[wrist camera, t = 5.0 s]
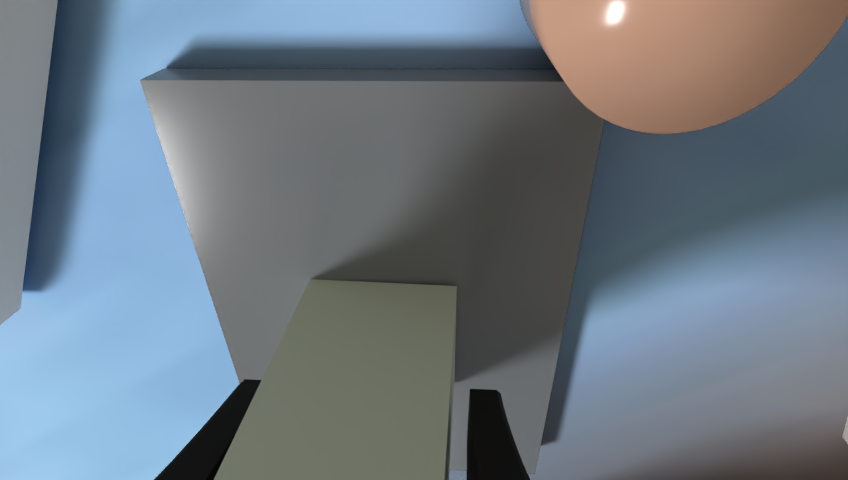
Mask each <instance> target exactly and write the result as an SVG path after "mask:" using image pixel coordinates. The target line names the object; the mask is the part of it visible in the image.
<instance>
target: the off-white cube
mask: <svg viewBox="0 0 848 480" xmlns="http://www.w3.org/2000/svg"><path fill="white" fill-rule="evenodd" d="M842 437H843V438H844V440H845V441H846V442H847V444H848V418H847V422H846V425H845V429H844V433H843V436H842Z"/></svg>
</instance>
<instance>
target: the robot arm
mask: <svg viewBox="0 0 848 480" xmlns="http://www.w3.org/2000/svg"><path fill="white" fill-rule="evenodd" d="M260 382H261V380H251V379H244V380H243V381H242V382H241V383H240V384H239V385H238V387H237V388H236V389H235V390H234V391H233V392H232V394H231V395H230V396H229V397H228V398H227V399H226V401H225V402H224V403H223V404H222V405H221V407H220V408H219V409H218V410H217V411H216V412H215V414H214V415H213V416H212V417H211V418H210V419H209V420H208V422H207V423H206V424H205V425H204V426H203V427H202V428H201V430H200V431H199V432H198V433H197V434H196V435H195V436H194V437H193V439H192V440H191V441H190V442H189V443H188V444H187V445H186V446H185V447H184V448H183V449H182V451H181V452H180V453H179V454H178V455H177V456H176V457H175V458H174V459H173V460H172V462H171V463H170V464H169V465H168V466H167V467H166V468H165V469H164V470H163V471H162V472H161V473H160V474H159V475H158V476H157V477H156V478H155V479H154V480H214V478H215V476H216V474H217V472H218V470H219V468H220V466H221V464H222V461H223V459H224V457H225V455H226V453H227V451H228V449H229V447H230V445H231V443H232V441H233V439H234V437H235V434H236V432H237V430H238V428H239V426H240V424H241V422H242V420H243V418H244V416H245V414H246V412H247V409H248V407H249V405H250V403H251V401H252V399H253V397H254V395H255V393H256V391H257V389H258V387H259V384H260ZM467 480H530V478H529V476H528V474H527V471H526V469H525V467H524V464H523V462H522V459H521V457H520V454H519V452H518V449H517V446H516V443H515V441H514V438H513V435H512V432H511V429H510V426H509V423H508V420H507V416H506V413H505V409H504V405H503V401H502V397H501V393H500V392H498V391H497V390H489V389H470V395H469V412H468V429H467Z"/></svg>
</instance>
